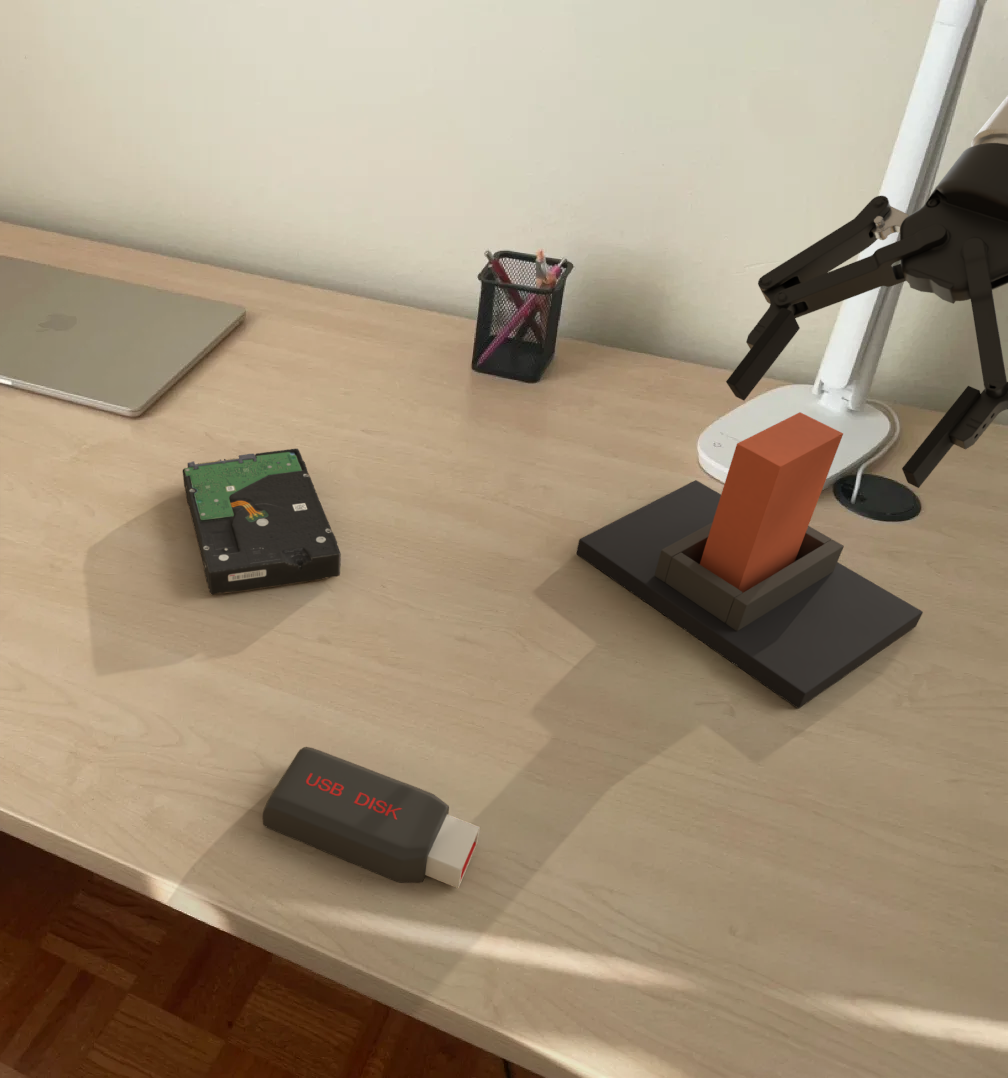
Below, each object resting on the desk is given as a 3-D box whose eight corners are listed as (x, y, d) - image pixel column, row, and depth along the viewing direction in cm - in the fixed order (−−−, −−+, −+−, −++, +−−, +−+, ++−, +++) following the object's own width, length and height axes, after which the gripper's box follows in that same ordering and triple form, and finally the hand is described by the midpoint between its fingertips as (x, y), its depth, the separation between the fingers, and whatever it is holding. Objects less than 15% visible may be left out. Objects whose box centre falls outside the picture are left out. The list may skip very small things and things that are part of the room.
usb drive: (300, 764, 67) (300, 735, 65) (481, 834, 63) (486, 805, 61) (262, 825, 63) (261, 796, 62) (451, 904, 59) (456, 876, 57)
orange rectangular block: (792, 567, 80) (843, 433, 72) (733, 603, 77) (780, 466, 69) (754, 544, 82) (800, 411, 74) (694, 578, 79) (736, 443, 71)
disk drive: (343, 580, 81) (298, 471, 92) (344, 552, 79) (298, 444, 91) (210, 601, 79) (180, 487, 91) (208, 573, 78) (178, 460, 89)
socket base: (916, 626, 77) (936, 585, 74) (798, 709, 70) (816, 667, 68) (691, 493, 90) (703, 454, 87) (575, 553, 83) (584, 513, 81)
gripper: (1228, 264, 66) (1001, 539, 68) (859, 154, 82) (687, 380, 84) (1240, 198, 60) (992, 501, 63) (840, 94, 76) (657, 339, 79)
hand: (816, 432), depth 74 cm, fingers open, 13 cm apart
